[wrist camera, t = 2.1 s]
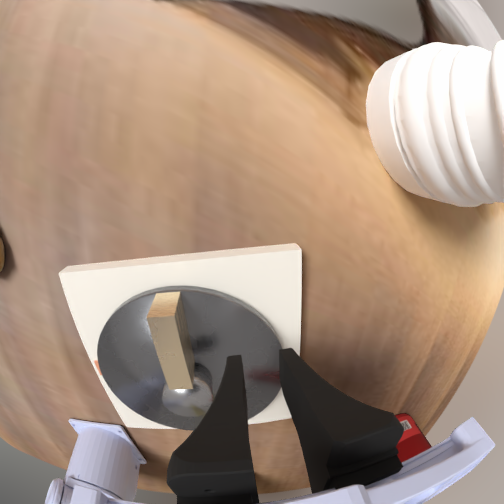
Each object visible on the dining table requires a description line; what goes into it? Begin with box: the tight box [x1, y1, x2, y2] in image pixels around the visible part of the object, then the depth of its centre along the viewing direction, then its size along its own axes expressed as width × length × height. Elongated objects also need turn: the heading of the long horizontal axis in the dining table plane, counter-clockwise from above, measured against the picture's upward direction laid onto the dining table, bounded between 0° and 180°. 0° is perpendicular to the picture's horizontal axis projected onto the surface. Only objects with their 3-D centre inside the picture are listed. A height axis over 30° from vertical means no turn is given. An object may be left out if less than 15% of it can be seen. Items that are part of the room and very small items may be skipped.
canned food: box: [395, 413, 432, 463], centre depth 26 cm, size 8×8×11 cm
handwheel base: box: [59, 243, 302, 429], centre depth 21 cm, size 18×18×2 cm
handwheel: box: [97, 285, 282, 430], centre depth 18 cm, size 15×15×4 cm
